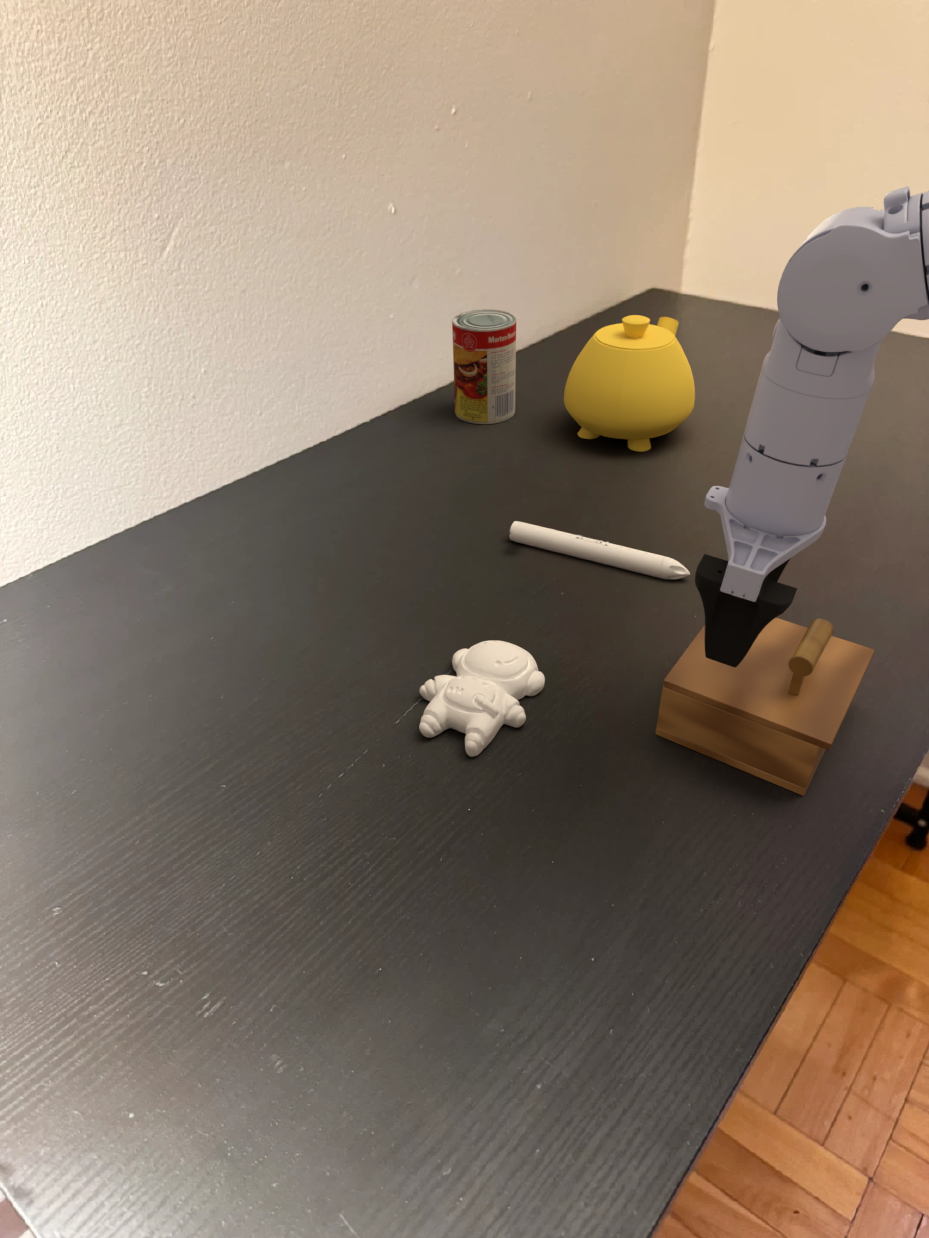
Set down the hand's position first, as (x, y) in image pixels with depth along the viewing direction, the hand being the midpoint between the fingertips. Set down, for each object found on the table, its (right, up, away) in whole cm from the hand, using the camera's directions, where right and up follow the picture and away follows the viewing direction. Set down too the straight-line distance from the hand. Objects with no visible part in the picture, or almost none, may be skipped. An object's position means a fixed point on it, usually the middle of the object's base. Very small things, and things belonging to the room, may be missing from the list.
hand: (736, 626), depth 56 cm
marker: (-5, +6, +25) cm, 27 cm away
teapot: (+3, +25, +50) cm, 56 cm away
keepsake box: (+4, -7, +7) cm, 11 cm away
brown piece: (+4, -3, +4) cm, 6 cm away
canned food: (-16, +27, +54) cm, 62 cm away
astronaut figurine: (-17, -6, +9) cm, 20 cm away
